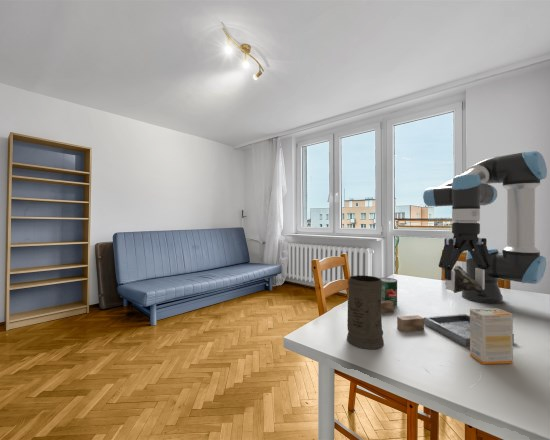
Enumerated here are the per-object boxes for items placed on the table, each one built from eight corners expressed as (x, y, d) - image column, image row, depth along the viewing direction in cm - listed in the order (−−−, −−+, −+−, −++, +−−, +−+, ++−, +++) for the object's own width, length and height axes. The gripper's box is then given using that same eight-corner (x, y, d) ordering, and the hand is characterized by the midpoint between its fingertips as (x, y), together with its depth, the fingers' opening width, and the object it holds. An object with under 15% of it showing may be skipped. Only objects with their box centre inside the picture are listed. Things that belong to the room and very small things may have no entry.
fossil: (495, 295, 81) (478, 265, 82) (465, 307, 83) (449, 278, 84) (475, 285, 92) (460, 259, 92) (449, 296, 94) (435, 270, 94)
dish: (465, 320, 98) (465, 314, 98) (513, 342, 81) (513, 334, 81) (423, 324, 95) (423, 317, 95) (465, 347, 78) (465, 338, 78)
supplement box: (497, 354, 74) (497, 307, 74) (513, 364, 69) (514, 314, 69) (468, 355, 74) (468, 308, 74) (482, 364, 69) (483, 314, 69)
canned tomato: (394, 309, 111) (394, 282, 111) (375, 305, 115) (375, 280, 115) (399, 304, 117) (399, 279, 117) (380, 300, 122) (380, 276, 122)
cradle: (389, 309, 110) (389, 300, 110) (424, 330, 90) (424, 318, 90) (371, 311, 108) (371, 301, 108) (402, 331, 89) (402, 320, 89)
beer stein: (379, 354, 74) (380, 282, 75) (341, 344, 80) (343, 277, 81) (388, 337, 87) (389, 275, 88) (355, 329, 93) (356, 271, 94)
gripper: (443, 222, 82) (443, 293, 82) (506, 222, 86) (506, 290, 86) (426, 222, 90) (425, 287, 90) (484, 221, 93) (484, 284, 94)
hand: (465, 289), depth 88 cm, fingers closed on fossil, 10 cm apart
